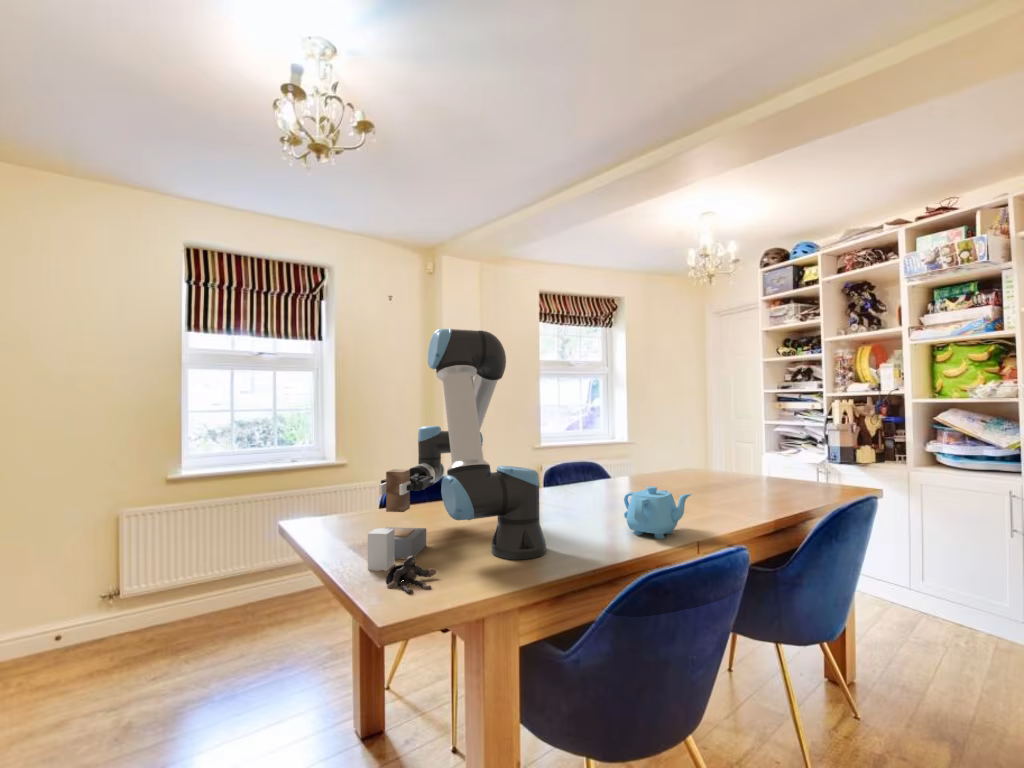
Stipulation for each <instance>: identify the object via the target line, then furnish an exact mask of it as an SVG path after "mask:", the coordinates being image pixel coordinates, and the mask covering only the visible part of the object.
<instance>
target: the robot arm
mask: <svg viewBox="0 0 1024 768" xmlns="http://www.w3.org/2000/svg"><path fill="white" fill-rule="evenodd" d="M427 364H428V367H429V369H432V370H435V372H436V377H437V379H439V381H442V386H443V395H444V406H445V412H446V414H445V415H446V420H447V421H446V422H447V429H448V430H442V429H441V426H439V425H423V426H420V427H419V428H418V432H417V433H418V434H417V443H418V445H417V447H418V448H417V449H418V450H417V451H418V452H417V453H418V456H417V457H418V461H417V462H418V463H417V465H415V466H411V467H410V468H408V470H410V481H408V482H405V483H403V484H401V485H399V495H403V494H405V493H407V492H409V491H410V492H411V491H416V492H419V491H422V490H425V489H427V488H429V487H431V486H434V484H437V482H439V481H440V480H441V483H440V485H441V489H440V490H441V491H440V493H441V498H442V502H443V505H444V508H445V510H446V512H447V515H449V516H450V517H451V518H452V519H453V520H456V521H465V520H466V521H471V520H476V519H485V518H492V517H497V524H496V528H495V531H494V534H493V538H492V541H491V548H490V549H491V554H492V555H493V556H495V557H498V558H501V559H508V560H530V559H536V558H540V557H542V556H543V555H545V554H546V553H547V543H546V539H545V536H544V532H543V530H542V527H541V523H540V488H541V485H540V477H539V473H538V471H536V470H534V469H532V468H529V467H521V466H512V465H497V467H496V471H494V472H492V471H491V464H490V463H489V462H487V461H486V460H485V459H484V453H483V442H484V436H483V434H482V432H481V431H480V430H481V428H482V426H483V423H484V419H485V417H486V414H487V412H488V408H489V407H490V406H489V405H490V404H491V400H492V399H493V398H492V397H493V394H494V392H495V389H496V386H497V383H498V381H499V380H501V379H502V378H503V376H504V373H505V371H506V366H507V357H506V351H505V347H504V346H503V344H502V342H501V341H500V340H499V338H498V337H497V336H496V335H495V334H493V333H492V332H489V331H487V330H473V329H456V328H455V329H454V328H439V329H437V330H435V331H434V332H433V334H432V336H431V338H430V341H429V345H428V351H427ZM442 454H450V456H451V458H450V459H451V465H450V466H449V467H448V468H447V470H446V475H445V476H444V474H445V467H444V465H443V463H442ZM378 487H379V492H378V493H379V494H378V495H381V496H382V495H386V478H385V479H382V480H380V484H379V486H378Z"/></svg>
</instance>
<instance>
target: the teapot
mask: <svg viewBox="0 0 1024 768" xmlns="http://www.w3.org/2000/svg"><path fill="white" fill-rule="evenodd" d="M692 495H693V493H686V494H685V493H684V494H682V495H680V497H679V499H678V503H677V505H676V502H675V498H674V496H673V493H671V492H670V491H668V490H664V489H660V490H658V486H651V485H650V486H647V487H646V489H642V490H638V491H635V492H634V491H631V492H628V493H626V494H625V495H624V497H623V502H624V505H625V508H626V510H625V512H624V515H623V516H624V518H625V519H626V523H627V526H628V528H629V529H630V530H632V531H633V533H632V535H633V534H635V535H634V536H642V535H643V534H644V533H648V534H649V533H650V534H654V539H657V540H663V539H665V535H664V534H667V535H670V534H673V531H674V530H675V529H676V527H677V526H678V523H679V521H680V520H681V519H682V518H683V516H684V513H685V505H686V500H687V499H688V497H690V496H692ZM630 496H631V497H630ZM629 497H630V500H629Z"/></svg>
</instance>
